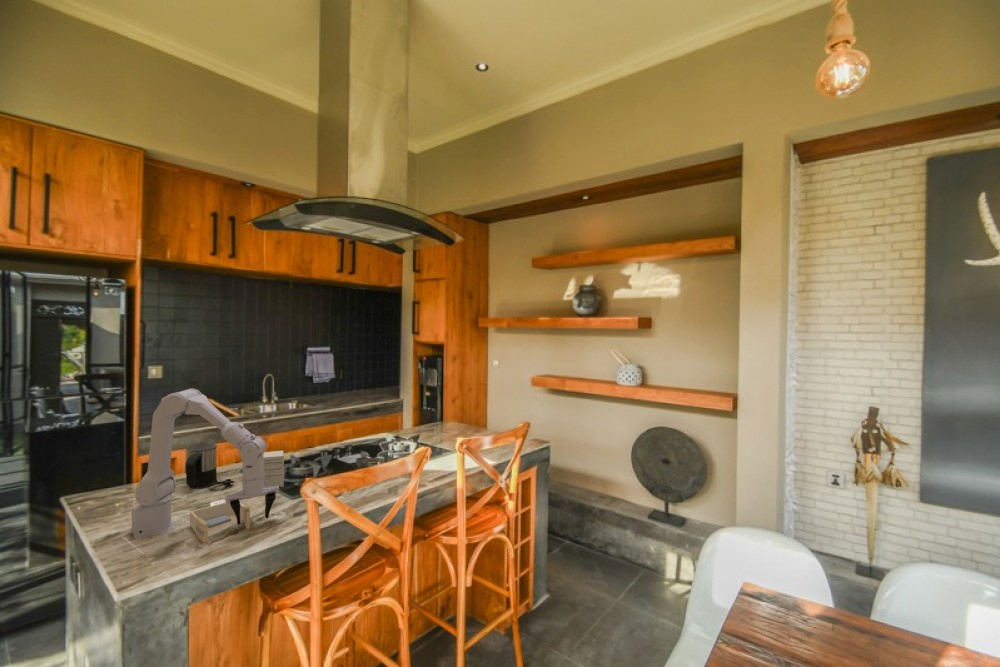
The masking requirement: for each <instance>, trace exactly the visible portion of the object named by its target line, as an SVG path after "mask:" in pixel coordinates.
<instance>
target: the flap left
mask: <svg viewBox="0 0 1000 667" xmlns="http://www.w3.org/2000/svg"><path fill="white" fill-rule="evenodd" d="M195 534H196V537H197V538H198V539H199V540H200V541H201V542H202V543H203V544H205V543H208V541H209V538H208V535H209V532H208V523H206V522H205V521H204V520H203V519H202V518H201V517H197V518H196V532H195Z"/></svg>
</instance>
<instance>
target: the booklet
mask: <svg viewBox="0 0 1000 667" xmlns="http://www.w3.org/2000/svg"><path fill="white" fill-rule="evenodd" d="M229 521H231V518H229V517H227V516H226V515H223V516H220V517H217V518H213V519H210V520H207V521H205V522H206V523H208V527H210V528H212V527H215V526H218V525H221V524H224V523H226V522H229Z"/></svg>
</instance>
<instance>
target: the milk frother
mask: <svg viewBox="0 0 1000 667" xmlns="http://www.w3.org/2000/svg"><path fill="white" fill-rule="evenodd" d="M217 448H218V445H217V444H211V443H210V444H209V443H208V444H198V445H194V446H192V447H190V448H189V450H190V455H189V456H188V458H187V459H186V462H185V476H186V477H185V478H186V481H185V482H186V485H187V486H188V487H189V488H191V489H203V488H204V489H205V488H208V487H212V486H216V485H224V486H225V487H230V486H231V484H234V483H235V481H234V480H232V479H231V478H226V479H225V480H223V481H222V480H221V481H218V480H217V479H218V476H217V461H218V460H217V455H218V454H217V453H218V452H217Z"/></svg>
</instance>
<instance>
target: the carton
mask: <svg viewBox="0 0 1000 667" xmlns="http://www.w3.org/2000/svg"><path fill="white" fill-rule="evenodd" d="M244 505H245V504H243V503H242V502H240V521H241V522H242V521H243V522H244ZM223 515H226V516H227V517H229V518H231V521H229V522H226V523H224V524H221V525H218V526H215V527H212V528H210V527H208V531H213V530H216V529H219V528H222V527H226V526H229V525H231V524H236V523H237V518H236V515H235V513H234V511H233V509H232V507H231V505H230V503H227V504H226V501H225V502H221V503H218V504H214V505H209V506H205V507H203V508H198V509H195V510H191V511H189V521H190V523H189V526H190V527H191V529H192V530H193V531H194V532H195V533H196V518H197V517H201V518H202V519H203V520H204V521H207V520H210V519H213V518H217V517H220V516H223Z"/></svg>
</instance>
